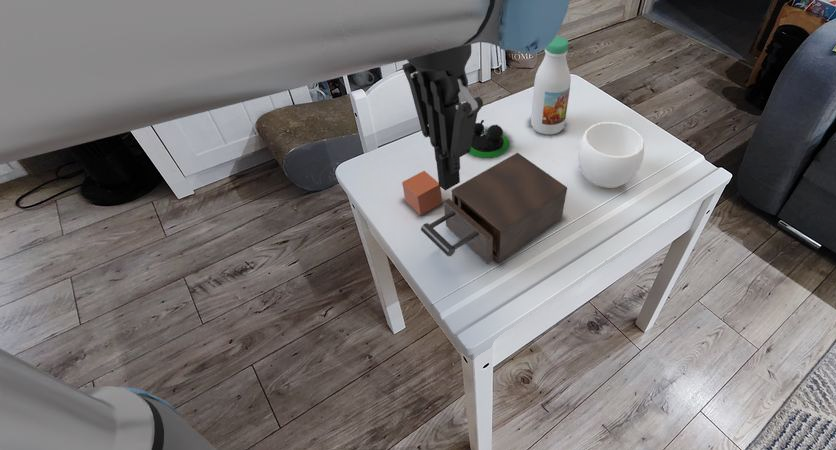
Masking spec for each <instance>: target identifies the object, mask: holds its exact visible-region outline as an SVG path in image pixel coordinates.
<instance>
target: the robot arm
mask: <svg viewBox="0 0 836 450" xmlns="http://www.w3.org/2000/svg"><path fill="white" fill-rule="evenodd" d="M570 1H571V0H0V166H1V165H4V164H8V163H13V162H16V161H20V160H24V159H28V158H32V157H36V156H39V155H44V154H47V153H51V152H54V151H58V150H63V149H66V148H70V147H74V146H78V145H82V144H86V143H90V142H94V141H97V140H101V139H106V138H109V137H114V136H117V135H122V134H124V133H128V132H132V131H136V130H140V129H144V128H148V127H152V126H155V125H156V126H157V125H159V124H163V123H167V122H172V121H176V120H179V119H184V118H186V117H187V118H188V117H191V116H195V115H198V114H202V113H207V112H211V111H213V110H217V109H222V108H225V107H230V106H233V105H237V104H241V103H245V102H250V101H252V100H256V99H257V100H258V99H260V98H264V97H268V96H272V95H275V94H276V95H277V94H280V93H284V92H287V91H291V90H295V89H299V88H303V87H307V86H310V85H315V84H319V83H322V82H326V81H331V80H335V79H339V78H341V77H342V78H343V77H345V76H346V77H347V76H349V75H353V74H357V73H361V72H365V71H370V70H372V69H376V68H380V67H385V66H388V65H389V66H390V65H392V64H396V63H399V62H404V61H407V62H406V63H404V64H402V70H403V72H404V75H405V77H406V80H407V81H408V85H409V89H410V92H411V95H412V99H413V103H414V108H415V111H416V114H417V118H418V122H419V125H420V129H421V133H422V135H423V137H424V138H426V139H427V138H429V141H430V144H431V146H432V147H433V150H434V159H435V162H436V170H437V180H438V181H437V182H438V183H439V186H440V188H441V189H442V190H444V192H445V191H448V190H450V189H451V188H453V187H455V186H456V185H458V184H460V183H461V178H460V176H461V175H460V170H461V157H463V156H465V155H467V154H470V153H469V152H470V151H471V146H472V140H473V135H474V129H475V124H476V123H477V119H478V113H479V112H480V110H481V109H482V108H483V106H484V101H483V98H481V97H480V96H476V97H473V96H472V94H471V93H470V91H469V89H468V87H469V80H468V77H467V74H466V66H467V64H468V62H469V59H470V58H471V57H472V45H474V44H477V43H486V44H491V45H494V46H495V47H499V49H500V50H503V51H505V52H506V51H512V52H517V53H521V54H522V53H523V54H527V55H532V54H534V55H535V54H538V53H540V52H542V51H545V48H546V47H547V46H548V45H549V44H550V43H551V42H552V41H553V39H554V38H555V36H558V33H559V32H560V29H561V27H562V25H563V22H564V20H565V18H566V16H567V12H568V9H569V4H570ZM0 450H218V448H216V447H215V446H214V445H213V444H212V443H211V442H210V441H208V439H206V438H205V437H204V436H203V435H201V433H199V431H198V430H196V429H195V428H194V427H193V426H191V424H189V423H188V422H187V421H186V420H185V419H184V418H183V417H181V416H180V414H179V412H178V411H177V410H176V408H175V407H174V406H173V405H171V404H170V403H169V402H168V401H166V400H164V399H163V398H161V397H158V396H157V395H154V394H152V393H150V392H148V391H146V390H144V389H143V390H142V389H139V388H134V387H127V386H114V385H113V386H112V385H100V386H93V387H88V388H83V389H79V388H77V387H75V386H73V385H71V384H70V383H67V382H66V381H64V380H62V379H60V378H58V377H56V376H54V375H52V374H51V373H48V372H46V371H44V370H43V369H40V368H39V367H37V366H35V365H34V364H31V363H30V362H28V361H25V360H23V359H22V358H20V357H18V356H16V355H14V354H12V353H10V352H8V351H6V350H4V349H3V348H1V347H0Z"/></svg>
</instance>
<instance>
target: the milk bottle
mask: <svg viewBox="0 0 836 450" xmlns="http://www.w3.org/2000/svg"><path fill="white" fill-rule="evenodd" d="M569 44H570V43H569V40H568V39H567V38H565V37H564V36H563V37H562V36H558V35H556V36H555V38H554V39H553V41H552V42H551V43H550V44H549V45H548V46H547V47H546V48H545V49H544V53H545V54H544V57H543V60H542V62H541V63H540V64H539V67H538V68H537V71H536V72H535V78H534V83H533V94H532V104H531V114H530V115H531V117H530V125H531V127H532V129H533V130H534V131H535V132H537V133H539V134H542V135H555V134H559V133H560V132H562V130H563V129H564V128H565V124H566V119H567V111H568V105H569V99H570V90H571V81H572V80H571V78H572V77H571V72H570V68H569V65H568V62H567V54H568V51H569V46H570V45H569Z"/></svg>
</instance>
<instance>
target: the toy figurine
mask: <svg viewBox="0 0 836 450" xmlns="http://www.w3.org/2000/svg"><path fill="white" fill-rule="evenodd" d="M484 122H485V119H481V120H480V122H476V124H475V129H474V135H473V140H472V146H471V151H470V152H469V153H468V154H469V155H472V156H474V157H477V158H483V159H491V158H496V157H499V156H501V155H503V154H505V153H506V152H507V151H508V149H509V147H510V141H509V139H508V137H507V136H506V135H505V134H504V129H503V128H502V127H501V126H500V125H498V124H492V125H490V126H489V127H488V128H487V129H485V126H484V124H483V123H484Z"/></svg>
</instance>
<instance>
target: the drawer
mask: <svg viewBox="0 0 836 450" xmlns="http://www.w3.org/2000/svg"><path fill="white" fill-rule="evenodd" d="M443 209H444V215H443V216H440V217H439V218H438V219H436V220H435V221H432V222H431V223H430V224H429V223H428V222H427V223H424V224H423V225H422V226H421V227H420V231H421V232H422V233H423V234H424V235H425V236H426V237H427V238H428V239H429V240H430V241H431V242H432V243H433V244H434V245H435V246H437V247H438V249H439V250H441V251H442V253H444V254H445V255H446V256H447V257H448V258H449V257H452V256H453V255H454V254H455V253H456V250H458V249H459V248H461V247H462V246H464V245H466V246H467V247H468V248H469V249H470V250H471V251H472V252H474V254H476V255H477V256H478V257H479V258H480V259H481V260H482V261H483V262H484V263H486V265H488V264H490V263H491V262H493V259H494V257H493V251H494V252H495V253H497V231H496V230H494V229H493V228H492V227H491V226H490V225H489V224H487V223H486V222H485V221H484V220H483V219H482V218H480V217H479V216H478V215H477V214H476V213H474V212H473V211H472V210H471V209H470V208H469V207H467V206H466V205H465V204H464V203H463V202H462V201H460V200H459V199H458V206H457V205H456V204H455V203H454V202H453V201H452V199H451V198H447V199H445V200H443ZM444 222H445V227H446V228H448V229H449V230H450V232H452V233H453V234H454V235H455V236H456V237H457V238H458V239H460V240H459V241H457V242H455V244H450V243H449V242H448V241H447V239H445V238H444V237H443V236H442V235H441V234H440V233H439V232H437V230H436V229H435V228H436V227H437V226H440V224H442V223H444Z"/></svg>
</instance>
